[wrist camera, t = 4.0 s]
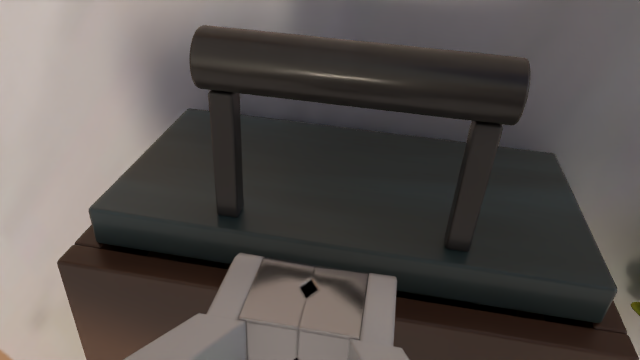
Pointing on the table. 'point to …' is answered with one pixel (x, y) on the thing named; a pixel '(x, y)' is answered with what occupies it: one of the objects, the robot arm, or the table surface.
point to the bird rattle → (636, 307)
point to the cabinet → (410, 315)
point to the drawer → (364, 178)
